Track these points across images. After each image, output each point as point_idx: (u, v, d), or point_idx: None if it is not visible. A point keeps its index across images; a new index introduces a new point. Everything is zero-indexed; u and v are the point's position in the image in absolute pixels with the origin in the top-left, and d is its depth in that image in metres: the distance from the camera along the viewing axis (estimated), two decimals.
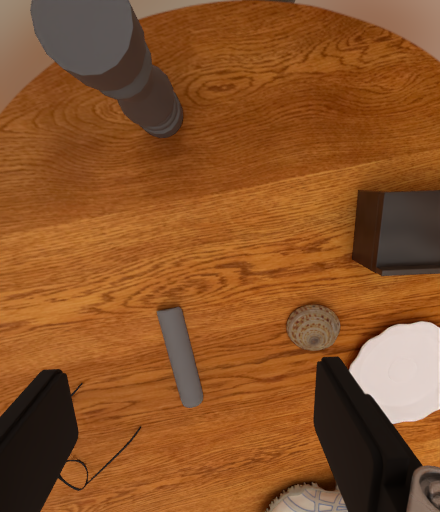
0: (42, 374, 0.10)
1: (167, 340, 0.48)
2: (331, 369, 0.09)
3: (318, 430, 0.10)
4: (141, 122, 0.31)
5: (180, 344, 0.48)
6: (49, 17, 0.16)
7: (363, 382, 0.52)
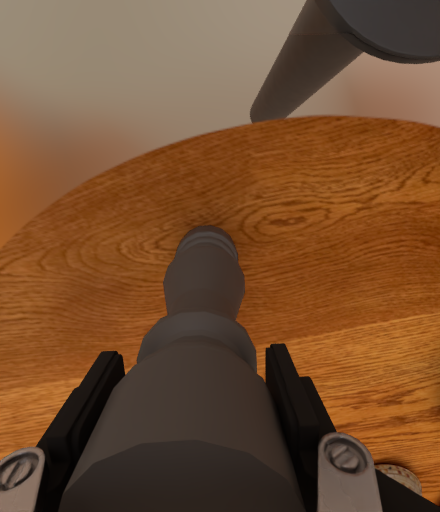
0: (103, 355, 0.11)
1: None
2: (275, 354, 0.10)
3: None
4: None
5: None
6: None
7: None
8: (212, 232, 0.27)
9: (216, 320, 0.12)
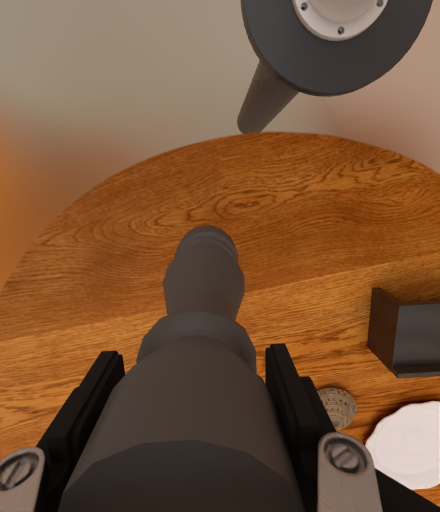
0: (103, 355, 0.11)
1: None
2: (275, 354, 0.10)
3: None
4: None
5: None
6: None
7: (379, 453, 0.55)
8: (212, 232, 0.27)
9: (215, 321, 0.12)
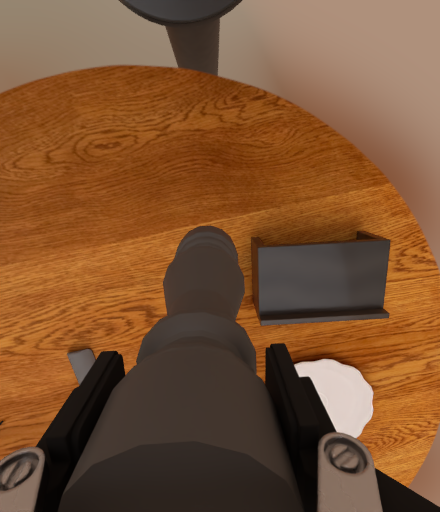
0: (103, 355, 0.11)
1: (78, 381, 0.50)
2: (275, 354, 0.10)
3: None
4: None
5: None
6: None
7: None
8: (212, 232, 0.27)
9: (215, 321, 0.12)
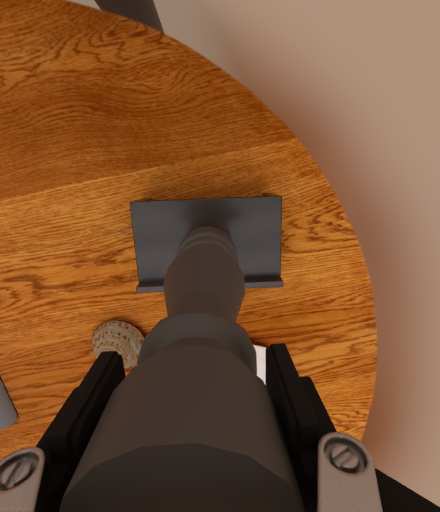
0: (103, 355, 0.11)
1: None
2: (274, 354, 0.10)
3: None
4: None
5: None
6: None
7: None
8: (212, 233, 0.27)
9: (216, 322, 0.12)
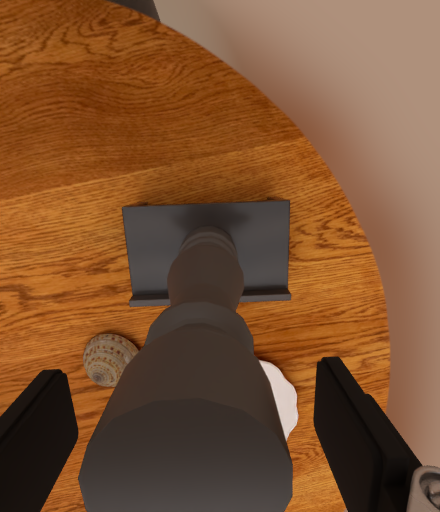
0: (42, 374, 0.10)
1: None
2: (331, 369, 0.09)
3: (319, 430, 0.10)
4: None
5: None
6: (117, 487, 0.07)
7: None
8: (213, 232, 0.28)
9: (216, 310, 0.13)
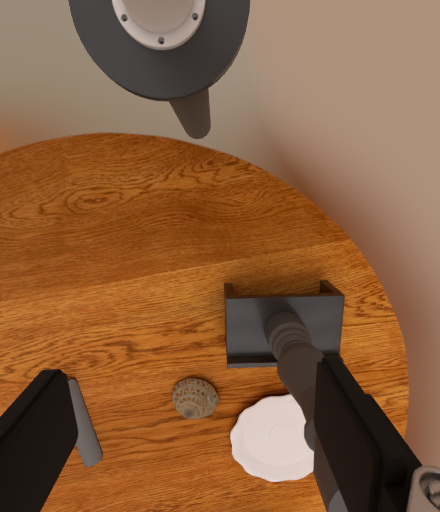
0: (42, 374, 0.10)
1: None
2: (331, 369, 0.09)
3: (318, 430, 0.10)
4: None
5: None
6: (342, 507, 0.20)
7: (247, 444, 0.58)
8: (295, 323, 0.40)
9: None
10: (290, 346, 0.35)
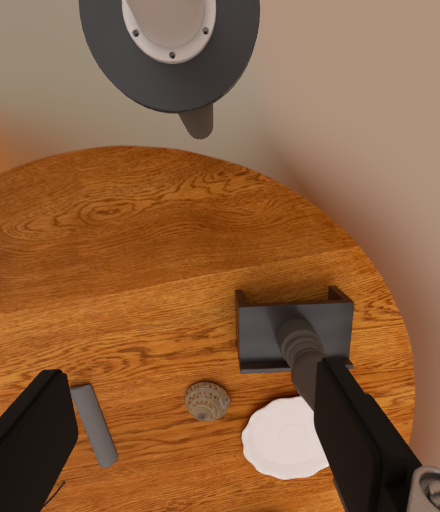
0: (42, 374, 0.10)
1: (79, 413, 0.55)
2: (331, 369, 0.09)
3: (318, 430, 0.10)
4: None
5: (90, 416, 0.55)
6: None
7: (258, 444, 0.59)
8: (307, 330, 0.41)
9: None
10: (304, 355, 0.36)
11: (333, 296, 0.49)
